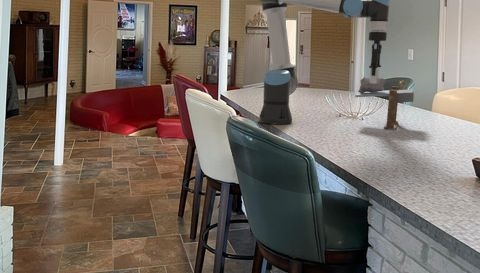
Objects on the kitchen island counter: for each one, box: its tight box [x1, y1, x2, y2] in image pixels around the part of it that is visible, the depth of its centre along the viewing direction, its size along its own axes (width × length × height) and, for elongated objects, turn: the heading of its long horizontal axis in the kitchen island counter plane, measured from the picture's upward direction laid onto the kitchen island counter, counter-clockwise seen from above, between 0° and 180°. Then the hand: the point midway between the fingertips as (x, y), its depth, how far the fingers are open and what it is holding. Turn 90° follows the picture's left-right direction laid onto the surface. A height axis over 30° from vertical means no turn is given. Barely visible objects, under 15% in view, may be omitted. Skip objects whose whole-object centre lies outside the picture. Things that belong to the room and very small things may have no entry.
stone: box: [357, 77, 386, 93], centre depth 211 cm, size 8×12×7 cm, turn 67°
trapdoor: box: [354, 88, 415, 103], centre depth 209 cm, size 24×16×4 cm, turn 69°
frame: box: [383, 85, 400, 131], centre depth 209 cm, size 5×22×17 cm, turn 159°
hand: (374, 82), depth 210 cm, fingers open, 10 cm apart
